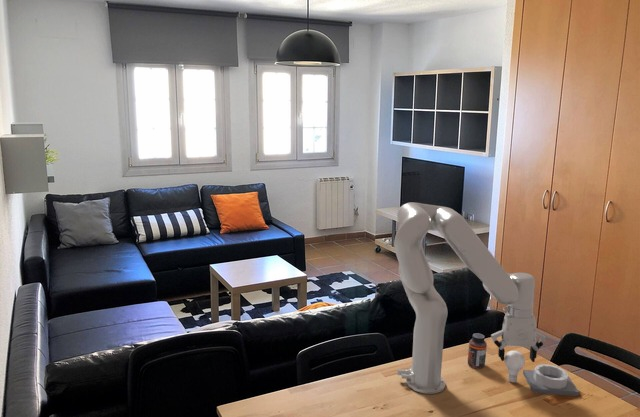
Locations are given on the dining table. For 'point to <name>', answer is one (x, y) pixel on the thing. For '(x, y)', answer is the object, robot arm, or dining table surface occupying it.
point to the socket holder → (550, 380)
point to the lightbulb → (514, 364)
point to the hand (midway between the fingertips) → (516, 359)
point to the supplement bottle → (477, 351)
